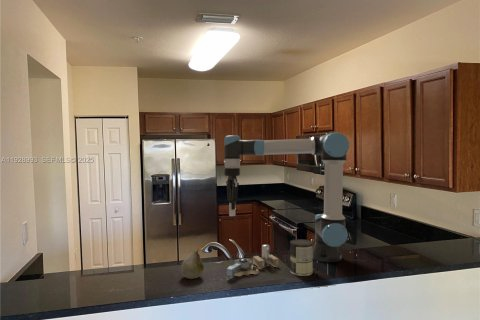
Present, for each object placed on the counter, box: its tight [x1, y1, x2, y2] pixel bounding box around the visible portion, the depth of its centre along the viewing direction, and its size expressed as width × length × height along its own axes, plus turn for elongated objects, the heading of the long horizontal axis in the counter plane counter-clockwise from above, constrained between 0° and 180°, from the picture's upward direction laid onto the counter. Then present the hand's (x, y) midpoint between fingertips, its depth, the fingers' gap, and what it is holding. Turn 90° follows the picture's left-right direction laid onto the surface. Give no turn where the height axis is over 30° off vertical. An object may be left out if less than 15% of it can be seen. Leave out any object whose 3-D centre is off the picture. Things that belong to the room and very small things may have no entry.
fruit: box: [180, 249, 205, 280], centre depth 156 cm, size 10×9×12 cm
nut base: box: [227, 264, 260, 277], centre depth 164 cm, size 11×11×3 cm
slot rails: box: [252, 254, 279, 270], centre depth 172 cm, size 10×8×4 cm
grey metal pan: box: [226, 257, 253, 277], centre depth 160 cm, size 16×8×4 cm, turn 150°
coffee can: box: [289, 238, 314, 277], centre depth 162 cm, size 10×10×14 cm
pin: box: [261, 244, 270, 266], centre depth 172 cm, size 4×4×10 cm
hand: (232, 215), depth 172 cm, fingers closed
